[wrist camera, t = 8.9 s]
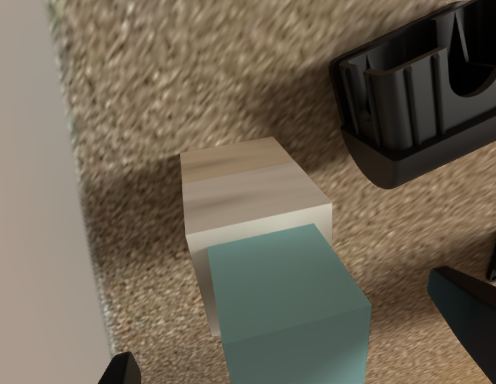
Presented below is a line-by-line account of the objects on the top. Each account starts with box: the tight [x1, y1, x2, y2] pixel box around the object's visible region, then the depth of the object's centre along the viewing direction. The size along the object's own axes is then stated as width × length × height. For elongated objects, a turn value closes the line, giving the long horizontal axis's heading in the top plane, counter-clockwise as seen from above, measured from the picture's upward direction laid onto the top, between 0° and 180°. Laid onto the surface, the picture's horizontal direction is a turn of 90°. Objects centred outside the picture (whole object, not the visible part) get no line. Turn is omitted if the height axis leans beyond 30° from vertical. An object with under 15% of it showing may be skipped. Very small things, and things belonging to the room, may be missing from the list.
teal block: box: [207, 223, 372, 384], centre depth 12 cm, size 4×4×4 cm
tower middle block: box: [182, 162, 332, 337], centre depth 16 cm, size 6×6×4 cm
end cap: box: [329, 0, 496, 189], centre depth 18 cm, size 10×7×7 cm
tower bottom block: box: [180, 136, 295, 184], centre depth 20 cm, size 6×6×4 cm
